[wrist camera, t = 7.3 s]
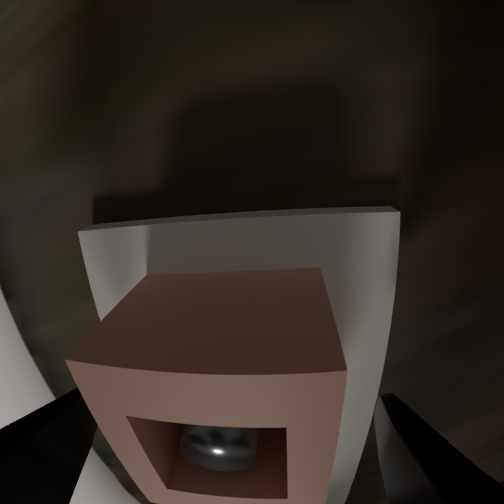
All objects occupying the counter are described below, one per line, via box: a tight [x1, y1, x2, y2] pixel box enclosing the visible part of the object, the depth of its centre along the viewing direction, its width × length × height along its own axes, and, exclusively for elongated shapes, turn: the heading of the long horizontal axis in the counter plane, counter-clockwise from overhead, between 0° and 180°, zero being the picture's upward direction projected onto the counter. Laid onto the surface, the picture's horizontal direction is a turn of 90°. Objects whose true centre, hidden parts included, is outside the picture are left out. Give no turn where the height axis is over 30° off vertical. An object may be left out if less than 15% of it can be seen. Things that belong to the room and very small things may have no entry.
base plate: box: [78, 206, 400, 504], centre depth 13 cm, size 22×11×1 cm, turn 5°
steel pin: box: [179, 424, 259, 471], centre depth 9 cm, size 2×2×4 cm
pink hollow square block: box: [65, 267, 348, 504], centre depth 9 cm, size 7×6×5 cm
